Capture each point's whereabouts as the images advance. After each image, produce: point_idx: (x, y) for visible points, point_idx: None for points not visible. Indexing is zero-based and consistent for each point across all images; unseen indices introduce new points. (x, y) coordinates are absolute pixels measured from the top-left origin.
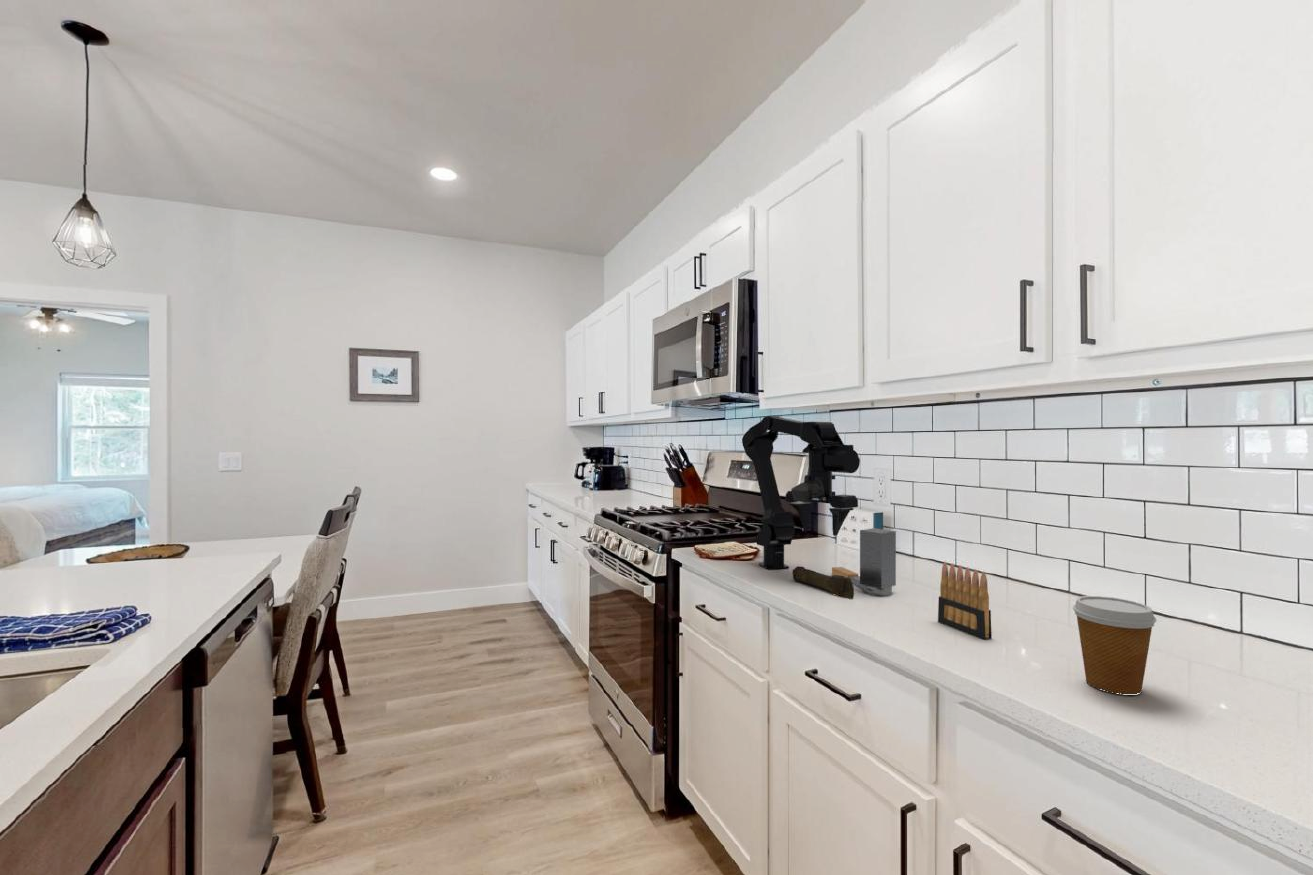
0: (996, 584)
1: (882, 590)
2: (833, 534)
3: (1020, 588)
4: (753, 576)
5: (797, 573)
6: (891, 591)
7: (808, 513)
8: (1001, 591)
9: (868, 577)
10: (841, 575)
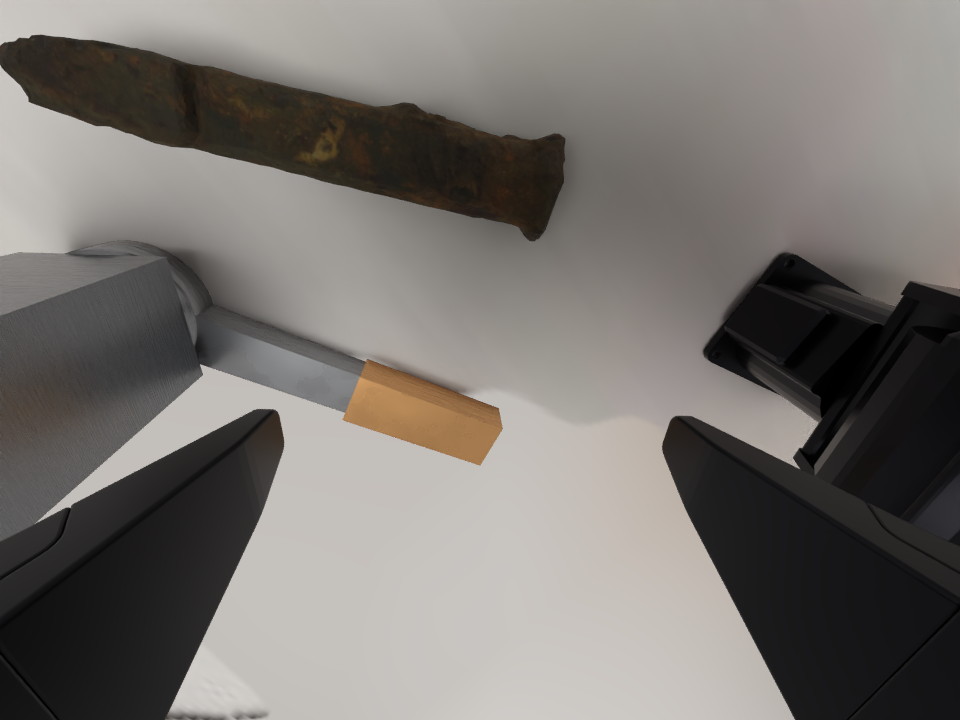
0: None
1: None
2: (261, 411)
3: None
4: (792, 36)
5: (523, 139)
6: None
7: (803, 664)
8: None
9: (68, 267)
10: (421, 388)
